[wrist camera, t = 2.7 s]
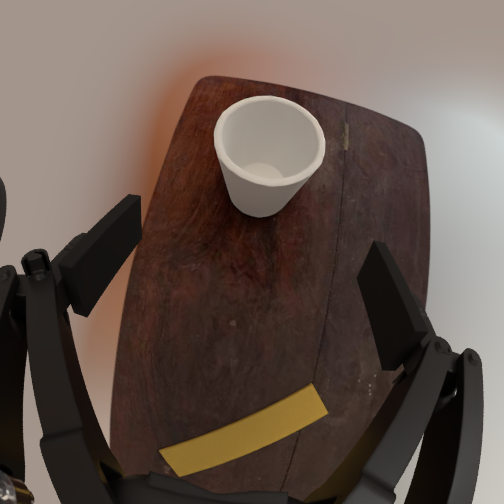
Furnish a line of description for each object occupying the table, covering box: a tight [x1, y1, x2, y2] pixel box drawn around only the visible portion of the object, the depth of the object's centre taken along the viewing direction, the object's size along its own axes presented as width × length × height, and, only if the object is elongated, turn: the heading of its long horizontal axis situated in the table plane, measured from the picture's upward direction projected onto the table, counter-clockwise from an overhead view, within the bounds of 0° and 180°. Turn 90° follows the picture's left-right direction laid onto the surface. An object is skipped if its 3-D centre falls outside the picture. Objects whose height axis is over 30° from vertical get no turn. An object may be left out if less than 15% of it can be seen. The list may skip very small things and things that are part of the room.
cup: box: [214, 96, 325, 217], centre depth 29 cm, size 10×10×13 cm
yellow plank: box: [159, 383, 328, 477], centre depth 29 cm, size 22×5×1 cm, turn 118°
